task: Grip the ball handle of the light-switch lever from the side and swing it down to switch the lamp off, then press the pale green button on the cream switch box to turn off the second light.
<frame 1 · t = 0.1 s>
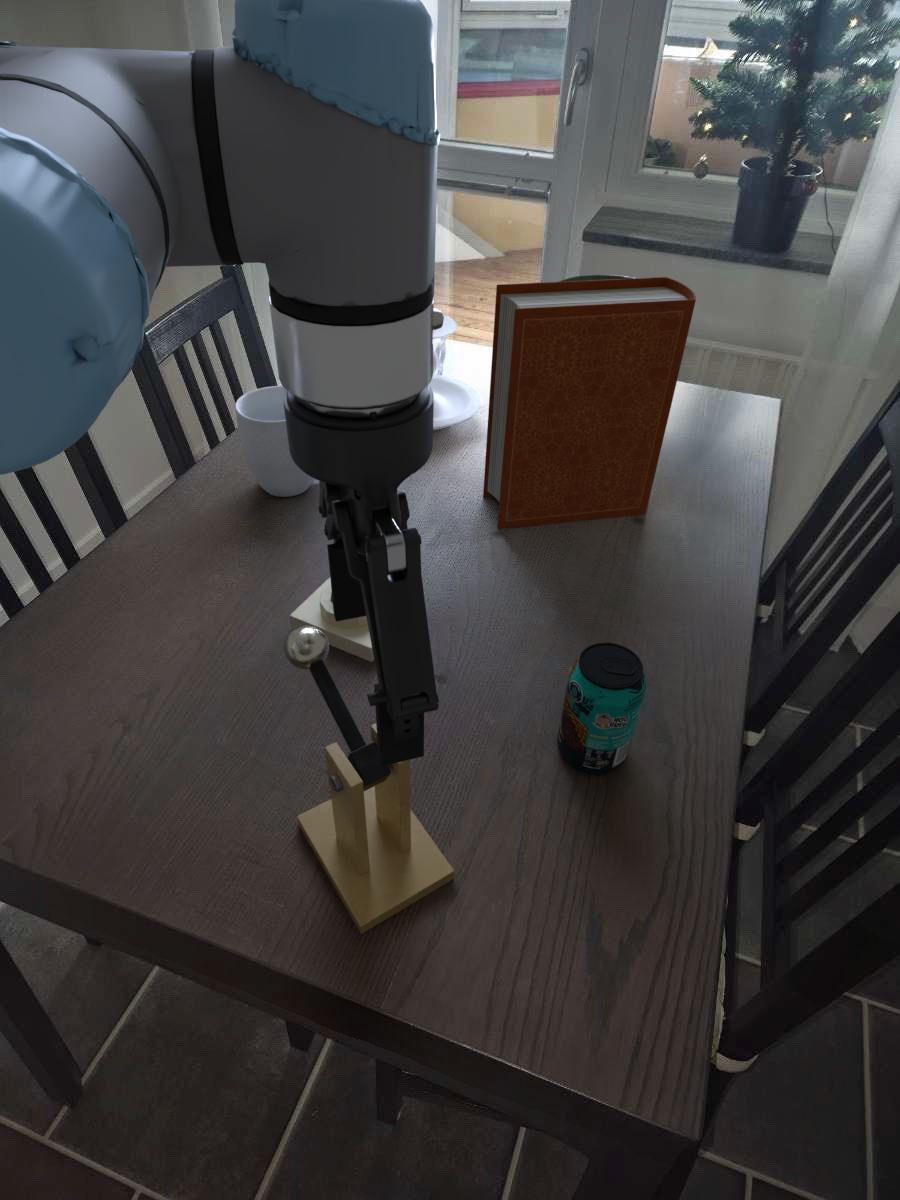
hand: (374, 679, 51), 22 cm above the table, tool pointing down, fingers open, 13 cm apart
book: (566, 506, 109), on the table
mug: (294, 485, 111), on the table
candlestick: (423, 412, 130), on the table
switch bracket: (374, 850, 67), on the table
switch lever: (335, 703, 60), point 14 cm above the table, hinge at 25.0°
beverage can: (591, 749, 76), on the table
switch box: (352, 622, 89), on the table
planter: (592, 426, 128), on the table
light button: (350, 593, 86), point 4 cm above the table, slide at 0.1 cm
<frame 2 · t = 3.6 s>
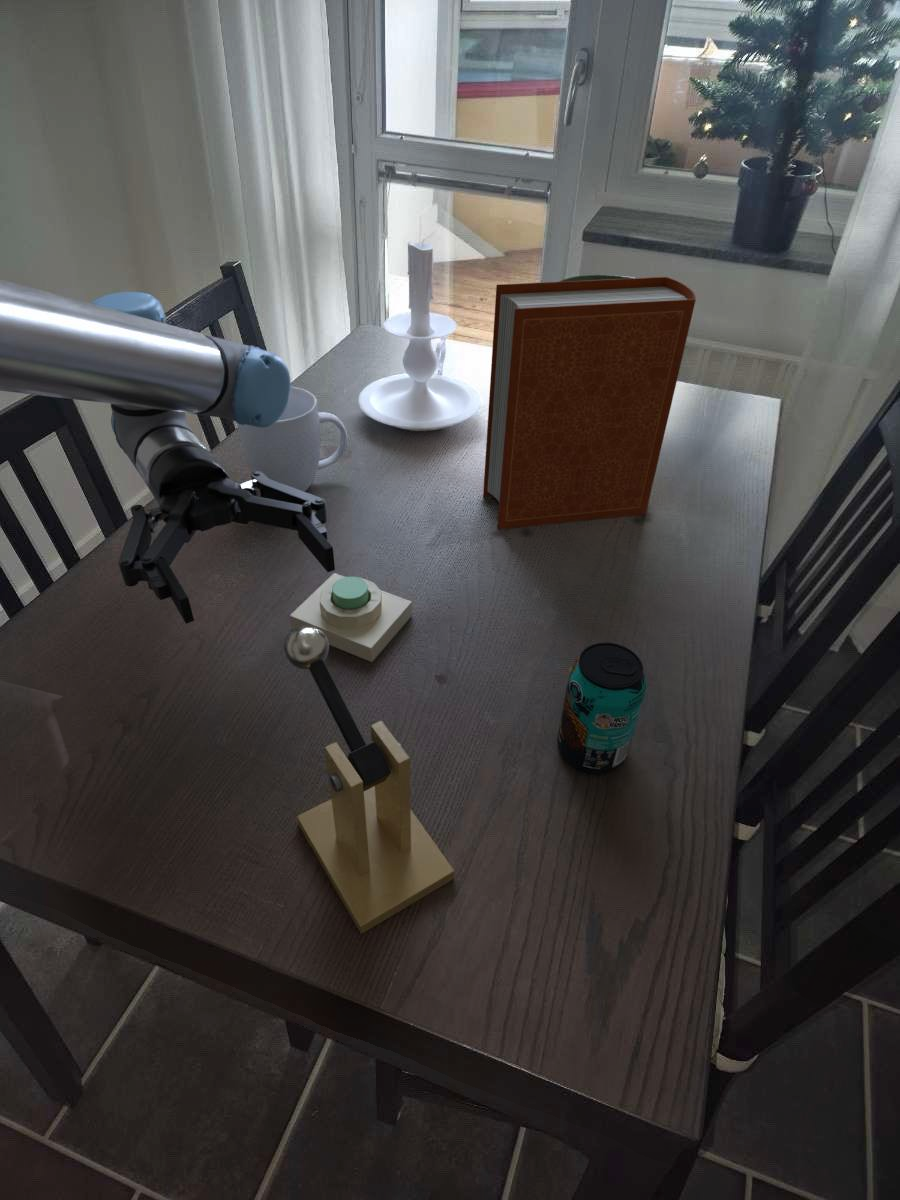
hand: (262, 584, 68), 17 cm above the table, tool horizontal, fingers open, 13 cm apart
nothing on the table moved.
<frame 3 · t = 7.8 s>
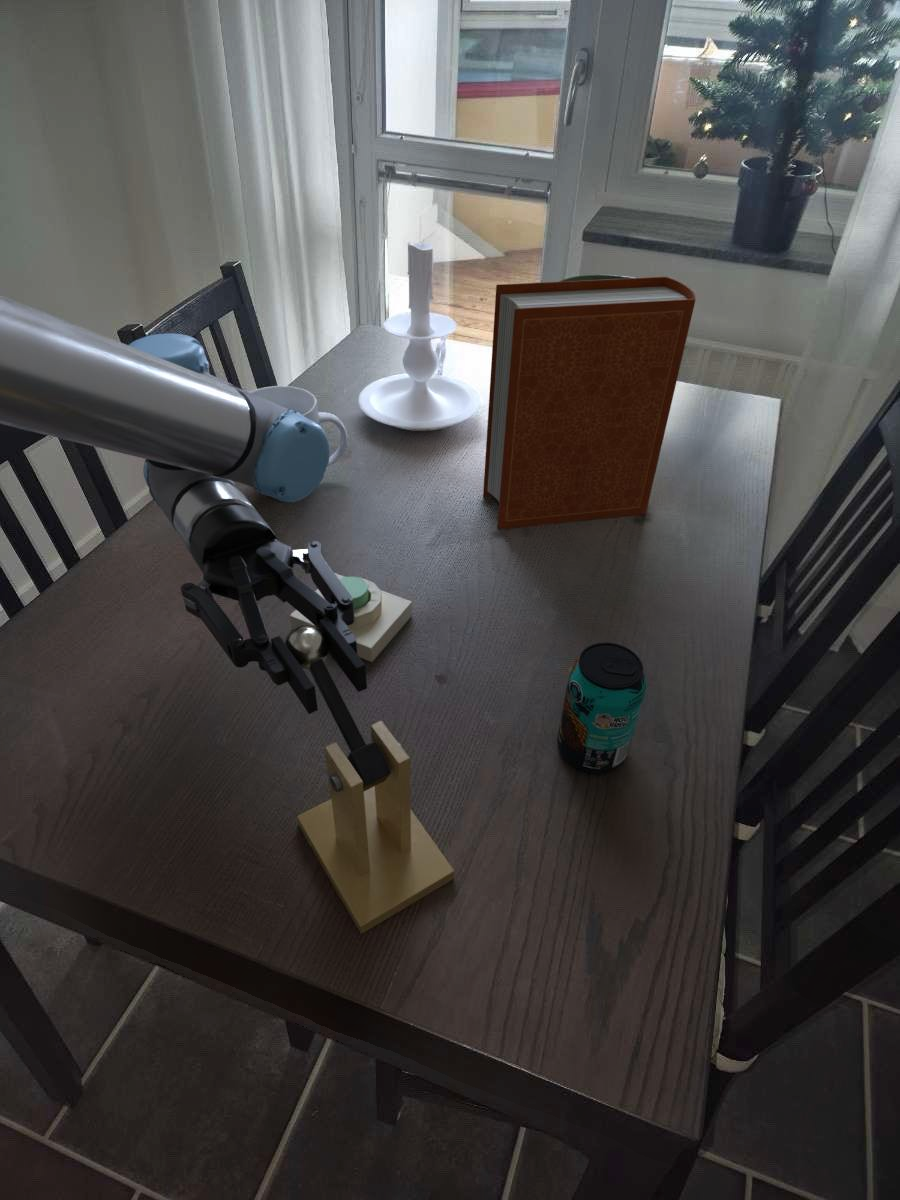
hand: (337, 688, 59), 17 cm above the table, tool horizontal, fingers closed on switch lever, 4 cm apart
switch lever: (335, 703, 60), point 14 cm above the table, hinge at 25.0°, touching gripper
everything else where it was.
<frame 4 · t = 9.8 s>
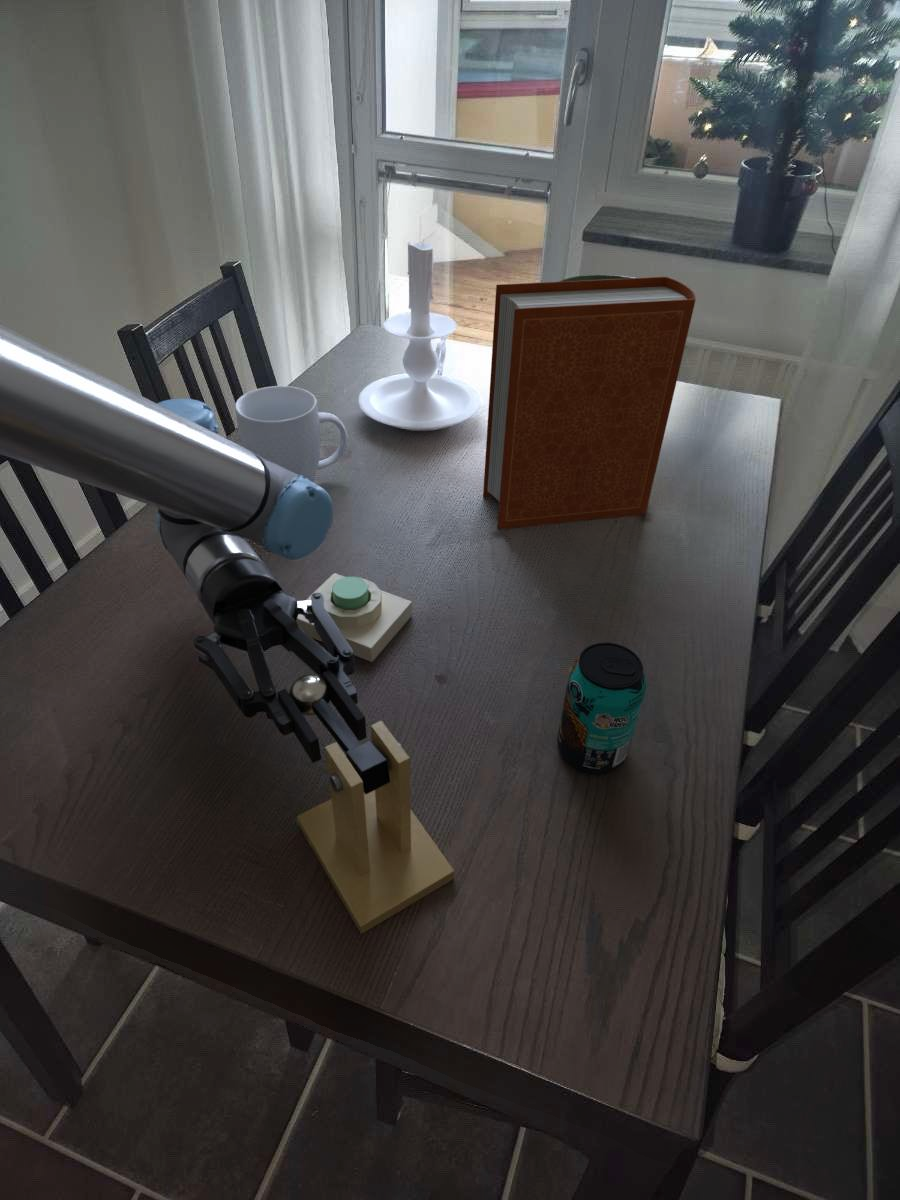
hand: (338, 739, 64), 10 cm above the table, tool horizontal, fingers closed on switch lever, 4 cm apart
switch lever: (336, 727, 63), point 11 cm above the table, hinge at -10.1°, touching gripper
everything else where it was.
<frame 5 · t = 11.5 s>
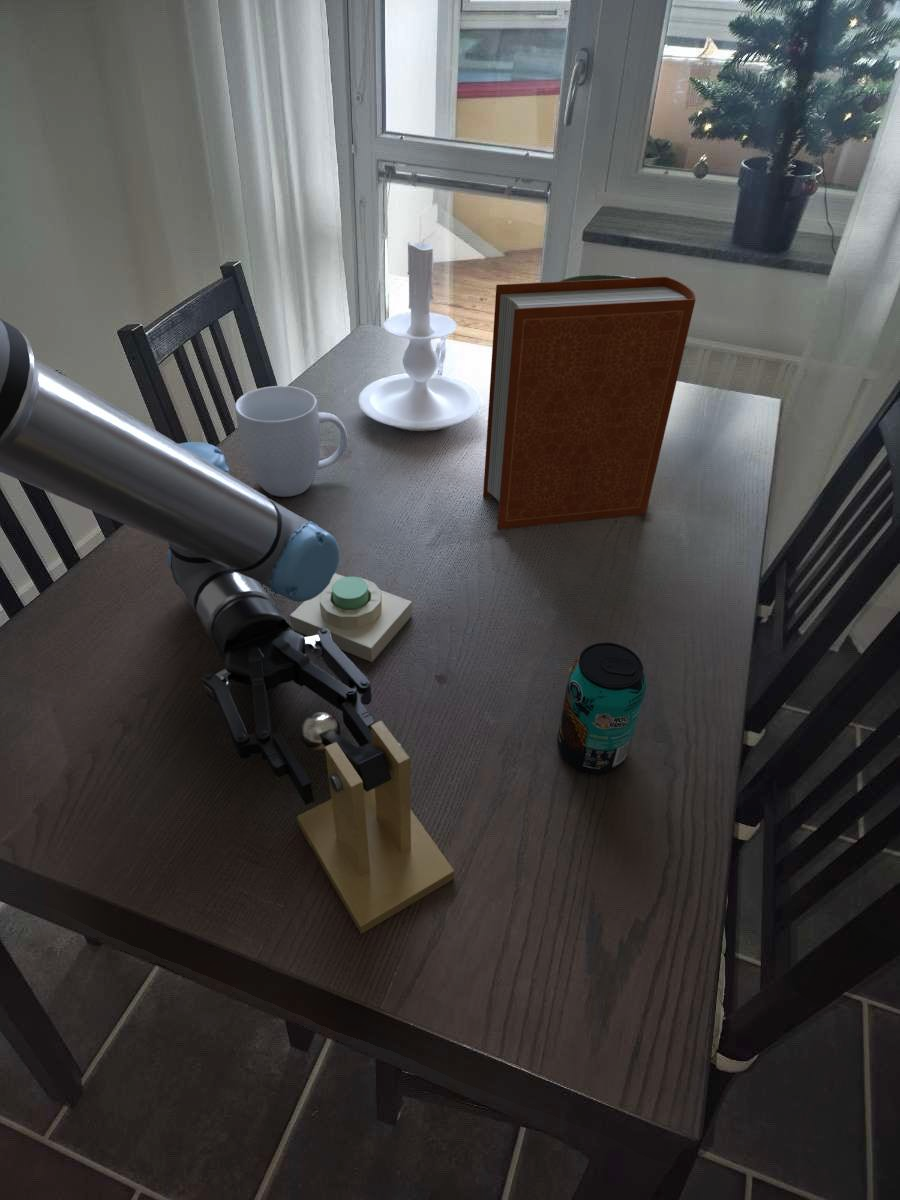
hand: (344, 775, 66), 5 cm above the table, tool horizontal, fingers open, 6 cm apart
switch lever: (341, 747, 64), point 9 cm above the table, hinge at -30.4°
everything else where it was.
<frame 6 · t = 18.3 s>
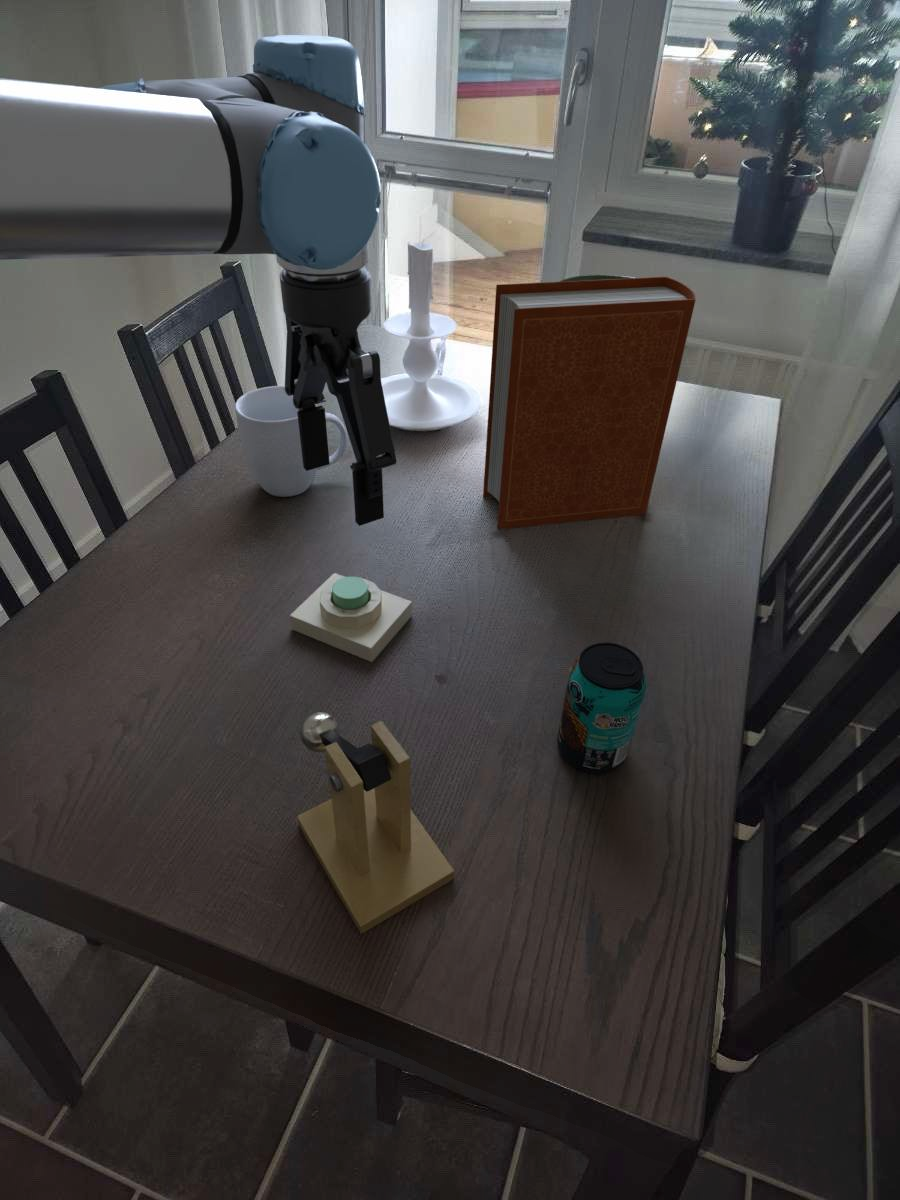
hand: (341, 491, 77), 18 cm above the table, tool pointing down, fingers open, 11 cm apart
nothing on the table moved.
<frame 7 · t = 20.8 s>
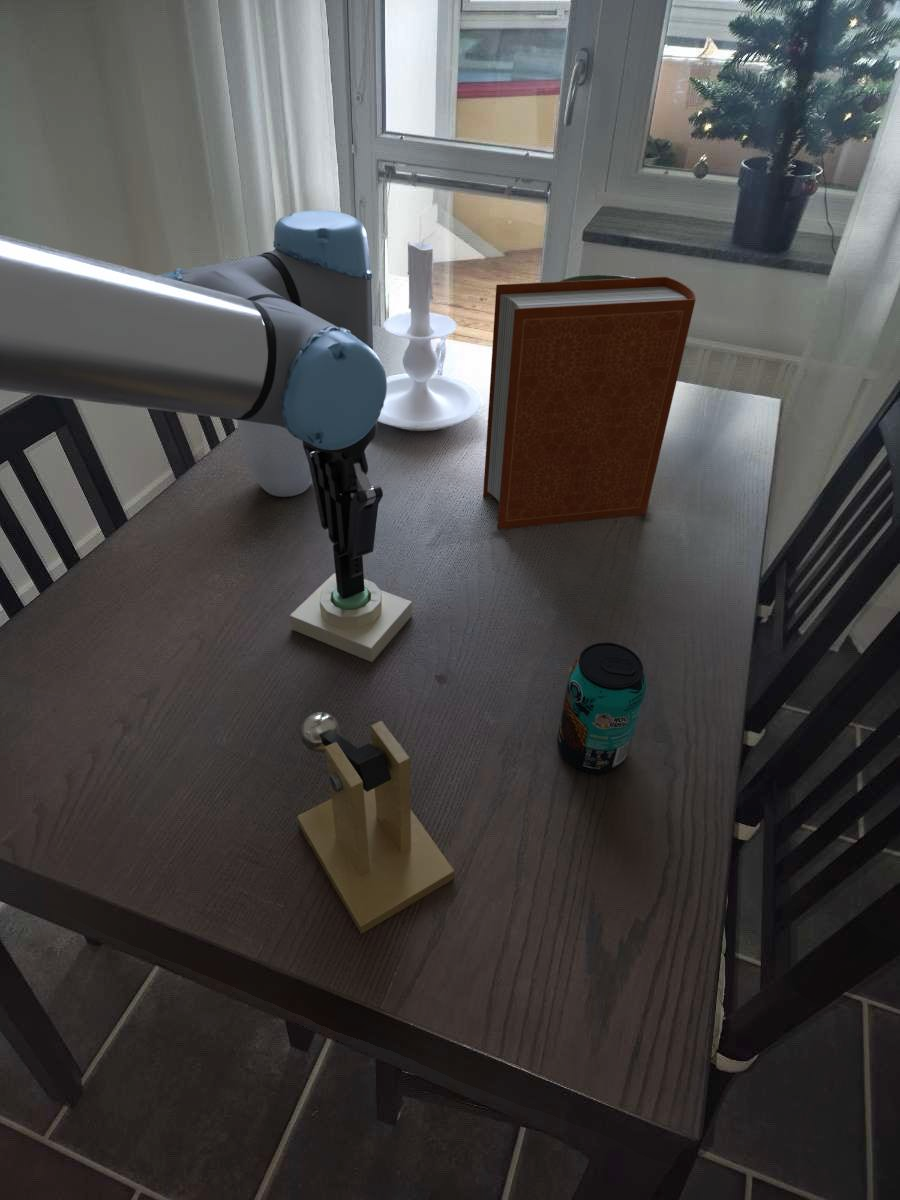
hand: (351, 591, 86), 5 cm above the table, tool pointing down, fingers closed
light button: (350, 599, 87), point 4 cm above the table, slide at -0.8 cm, touching gripper
everything else where it was.
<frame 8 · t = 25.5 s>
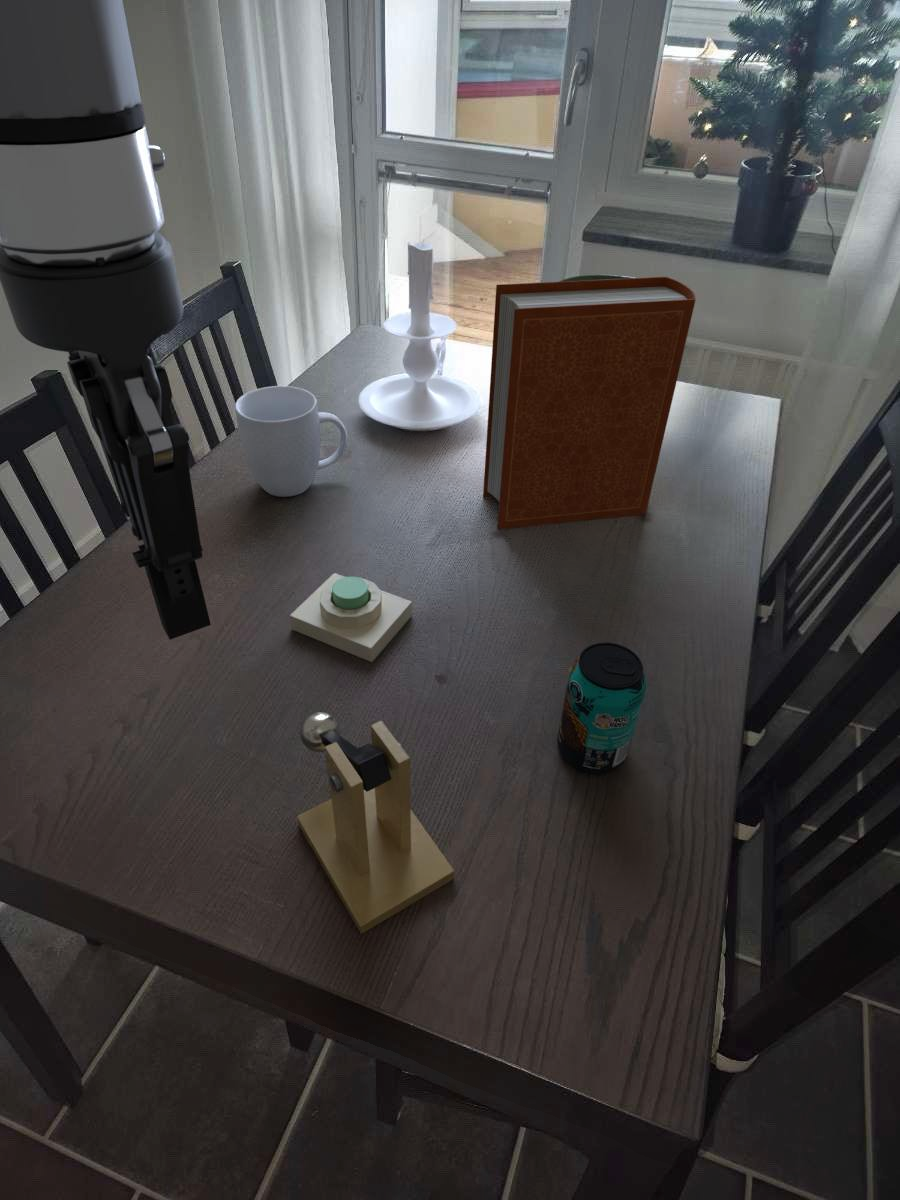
hand: (186, 625, 49), 26 cm above the table, tool pointing down, fingers closed
light button: (350, 593, 86), point 4 cm above the table, slide at 0.1 cm
everything else where it was.
at the end: switch lever at -30° (first picture: +25°); light button pushed in 1.0 cm at the most during the clip, back to where it started at the end; light button slide at 0.1 cm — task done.
